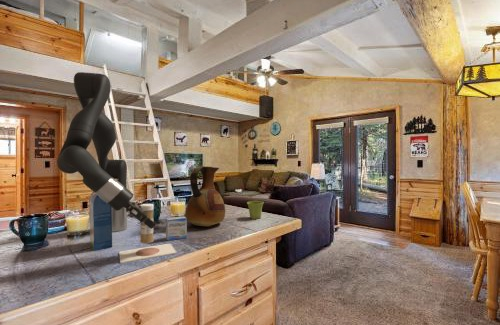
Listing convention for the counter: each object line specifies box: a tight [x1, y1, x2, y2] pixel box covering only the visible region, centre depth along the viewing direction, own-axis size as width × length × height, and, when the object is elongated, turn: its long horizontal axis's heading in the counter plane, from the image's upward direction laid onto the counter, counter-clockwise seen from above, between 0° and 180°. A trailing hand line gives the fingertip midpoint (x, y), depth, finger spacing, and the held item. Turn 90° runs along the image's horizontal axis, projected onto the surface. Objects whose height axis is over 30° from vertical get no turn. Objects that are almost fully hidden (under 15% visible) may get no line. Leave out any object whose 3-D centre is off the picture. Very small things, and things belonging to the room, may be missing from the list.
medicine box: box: [165, 216, 188, 242], centre depth 111 cm, size 8×4×9 cm, turn 117°
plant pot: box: [246, 200, 265, 220], centre depth 147 cm, size 9×9×9 cm
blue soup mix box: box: [88, 191, 113, 251], centre depth 103 cm, size 6×12×25 cm, turn 37°
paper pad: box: [118, 243, 178, 264], centre depth 94 cm, size 11×18×1 cm, turn 118°
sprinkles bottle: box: [139, 203, 155, 245], centre depth 94 cm, size 5×5×14 cm
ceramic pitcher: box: [184, 165, 226, 227], centre depth 133 cm, size 20×20×30 cm
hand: (152, 224), depth 95 cm, fingers closed on sprinkles bottle, 4 cm apart
